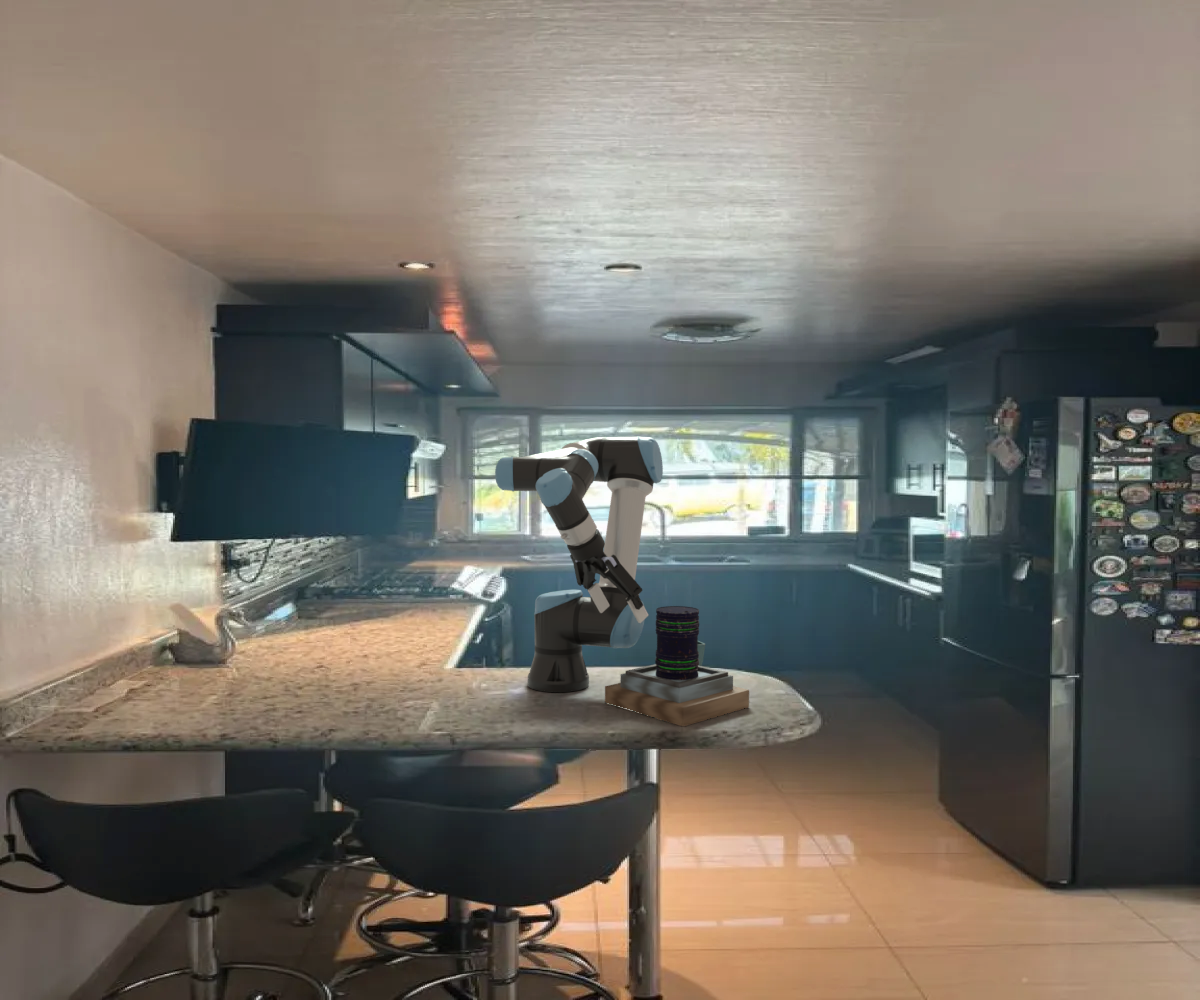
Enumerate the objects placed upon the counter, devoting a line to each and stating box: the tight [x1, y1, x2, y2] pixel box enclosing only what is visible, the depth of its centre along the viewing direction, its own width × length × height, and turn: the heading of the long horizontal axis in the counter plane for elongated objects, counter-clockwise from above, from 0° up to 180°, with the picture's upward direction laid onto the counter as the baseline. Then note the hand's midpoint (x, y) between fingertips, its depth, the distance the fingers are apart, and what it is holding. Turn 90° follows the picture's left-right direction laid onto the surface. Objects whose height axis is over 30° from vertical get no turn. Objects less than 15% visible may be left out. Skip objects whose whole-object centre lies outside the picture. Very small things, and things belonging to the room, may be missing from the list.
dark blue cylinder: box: [654, 605, 700, 680], centre depth 210 cm, size 10×10×15 cm
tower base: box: [604, 663, 750, 727], centre depth 211 cm, size 24×22×8 cm
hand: (623, 614), depth 205 cm, fingers open, 13 cm apart
